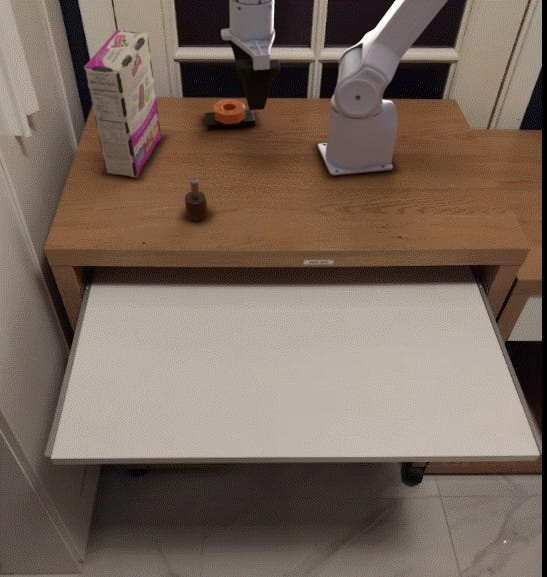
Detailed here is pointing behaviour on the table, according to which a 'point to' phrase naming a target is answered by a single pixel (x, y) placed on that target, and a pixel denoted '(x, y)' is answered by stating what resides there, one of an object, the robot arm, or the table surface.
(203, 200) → the brown cylinder with stem
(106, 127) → the candy bar box
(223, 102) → the ring
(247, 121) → the hob plate
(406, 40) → the robot arm
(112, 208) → the table surface
